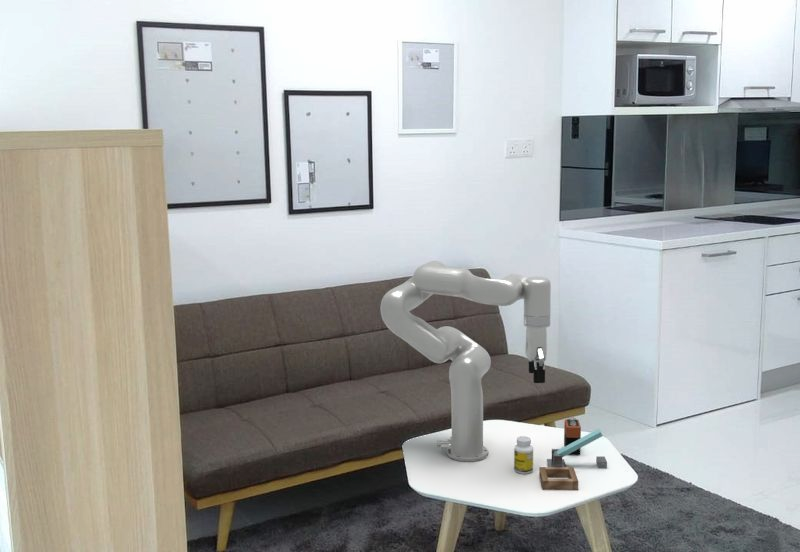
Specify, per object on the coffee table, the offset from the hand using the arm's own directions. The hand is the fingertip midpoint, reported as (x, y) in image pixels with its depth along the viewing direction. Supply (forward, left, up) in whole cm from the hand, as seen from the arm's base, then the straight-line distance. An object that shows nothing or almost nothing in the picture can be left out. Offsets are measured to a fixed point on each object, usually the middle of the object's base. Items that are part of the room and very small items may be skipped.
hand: (536, 377), depth 246 cm
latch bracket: (+12, -1, -26) cm, 29 cm away
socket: (+5, -13, -26) cm, 30 cm away
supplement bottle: (-4, -5, -27) cm, 27 cm away
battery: (+12, +10, -27) cm, 31 cm away
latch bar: (+12, -1, -21) cm, 24 cm away
